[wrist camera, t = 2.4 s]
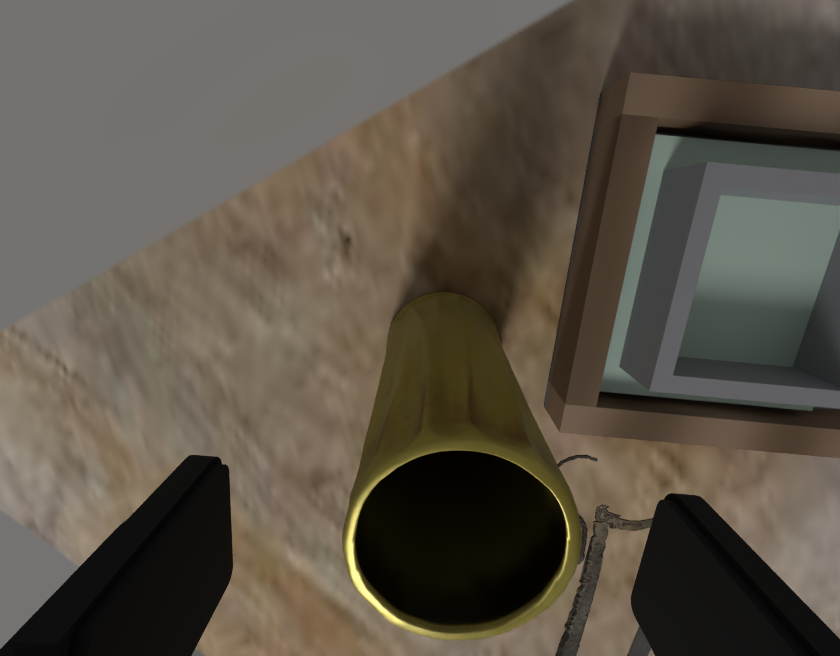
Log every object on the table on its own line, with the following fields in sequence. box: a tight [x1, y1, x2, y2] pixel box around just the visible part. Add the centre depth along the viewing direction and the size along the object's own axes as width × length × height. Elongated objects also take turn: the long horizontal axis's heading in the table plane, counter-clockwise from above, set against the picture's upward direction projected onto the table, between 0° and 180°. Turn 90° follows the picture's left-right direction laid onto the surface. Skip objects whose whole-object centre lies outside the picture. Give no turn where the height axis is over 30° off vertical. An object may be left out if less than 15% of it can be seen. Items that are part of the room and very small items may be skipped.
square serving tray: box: [600, 135, 840, 411], centre depth 19 cm, size 11×12×4 cm
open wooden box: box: [544, 72, 840, 458], centre depth 20 cm, size 23×16×3 cm
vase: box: [342, 292, 582, 640], centre depth 16 cm, size 6×6×14 cm
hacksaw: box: [556, 455, 653, 656], centre depth 27 cm, size 24×10×2 cm, turn 169°
